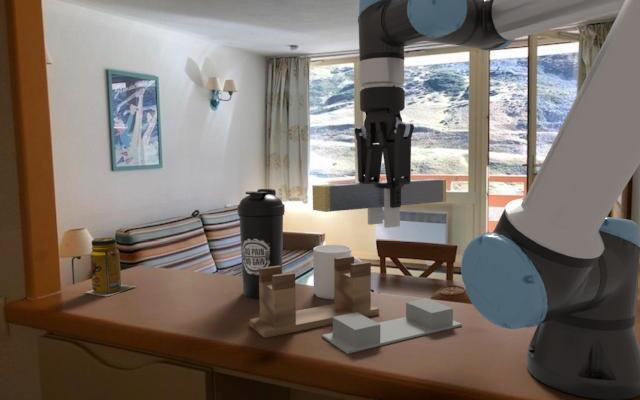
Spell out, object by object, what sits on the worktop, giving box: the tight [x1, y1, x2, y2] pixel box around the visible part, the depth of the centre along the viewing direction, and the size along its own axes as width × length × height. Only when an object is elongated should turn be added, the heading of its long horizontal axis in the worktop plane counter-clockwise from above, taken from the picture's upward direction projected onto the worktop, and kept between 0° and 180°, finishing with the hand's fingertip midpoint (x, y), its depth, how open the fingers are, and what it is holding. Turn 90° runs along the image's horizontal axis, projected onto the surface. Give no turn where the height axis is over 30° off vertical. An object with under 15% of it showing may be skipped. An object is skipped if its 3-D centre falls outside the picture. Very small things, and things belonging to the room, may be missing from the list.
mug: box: [312, 244, 362, 300], centre depth 111 cm, size 12×8×10 cm
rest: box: [321, 298, 463, 355], centre depth 90 cm, size 8×24×3 cm, turn 119°
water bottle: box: [237, 188, 286, 300], centre depth 112 cm, size 10×10×23 cm
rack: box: [249, 255, 380, 339], centre depth 95 cm, size 7×24×10 cm, turn 119°
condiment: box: [84, 237, 137, 297], centre depth 116 cm, size 7×8×12 cm
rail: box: [311, 178, 447, 213], centre depth 87 cm, size 26×4×4 cm, turn 121°
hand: (383, 224), depth 88 cm, fingers closed on rail, 4 cm apart
